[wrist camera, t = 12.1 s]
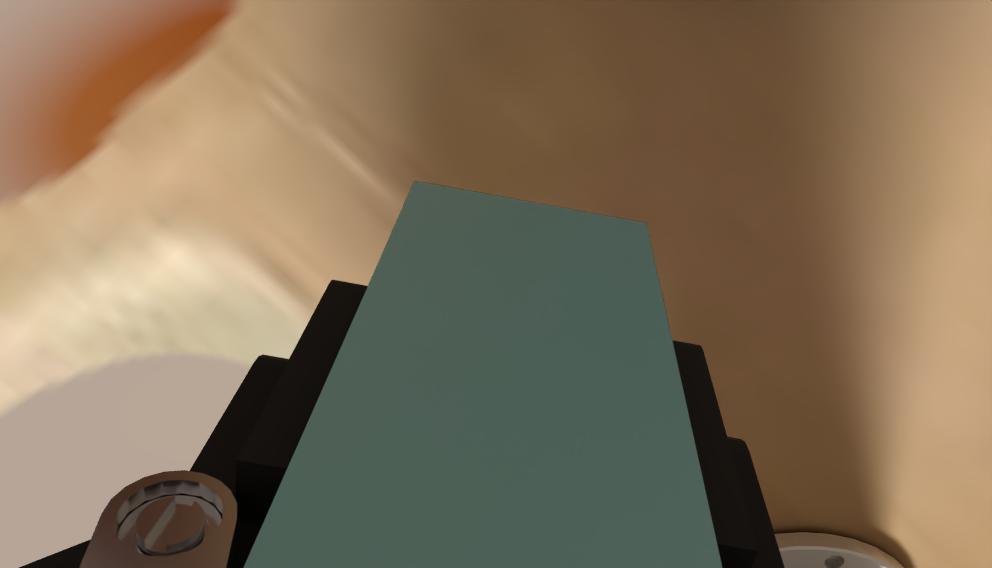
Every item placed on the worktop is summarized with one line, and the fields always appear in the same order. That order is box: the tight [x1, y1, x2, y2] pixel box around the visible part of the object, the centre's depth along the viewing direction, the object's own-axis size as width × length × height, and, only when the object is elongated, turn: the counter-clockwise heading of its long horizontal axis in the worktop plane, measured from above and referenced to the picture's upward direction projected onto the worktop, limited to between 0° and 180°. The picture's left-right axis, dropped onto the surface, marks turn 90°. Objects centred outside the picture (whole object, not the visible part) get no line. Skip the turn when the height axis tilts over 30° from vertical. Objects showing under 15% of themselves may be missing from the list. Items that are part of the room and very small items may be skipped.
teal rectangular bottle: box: [244, 181, 722, 568], centre depth 9 cm, size 4×4×12 cm
